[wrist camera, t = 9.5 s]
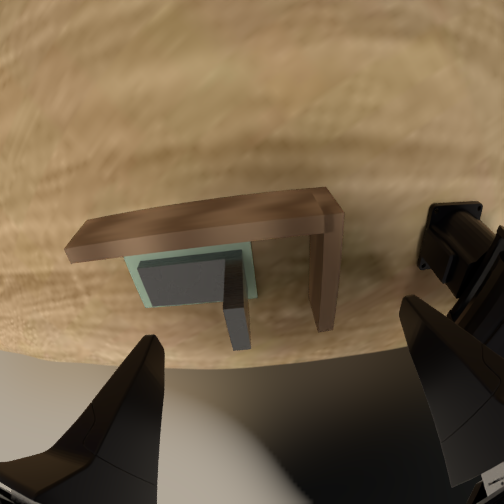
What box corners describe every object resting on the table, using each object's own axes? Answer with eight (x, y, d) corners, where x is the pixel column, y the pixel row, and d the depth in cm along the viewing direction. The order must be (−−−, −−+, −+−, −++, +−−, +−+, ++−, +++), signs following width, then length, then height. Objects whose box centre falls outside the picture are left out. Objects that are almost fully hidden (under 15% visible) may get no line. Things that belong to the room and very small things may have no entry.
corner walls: (325, 186, 19) (344, 213, 16) (322, 295, 25) (333, 330, 22) (86, 220, 20) (63, 249, 16) (129, 314, 25) (118, 347, 22)
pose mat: (249, 234, 21) (249, 236, 21) (257, 295, 24) (257, 297, 24) (122, 250, 21) (121, 252, 21) (146, 305, 25) (145, 307, 24)
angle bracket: (241, 249, 21) (243, 307, 16) (247, 290, 24) (251, 348, 19) (140, 260, 22) (117, 316, 17) (155, 298, 24) (140, 354, 19)
